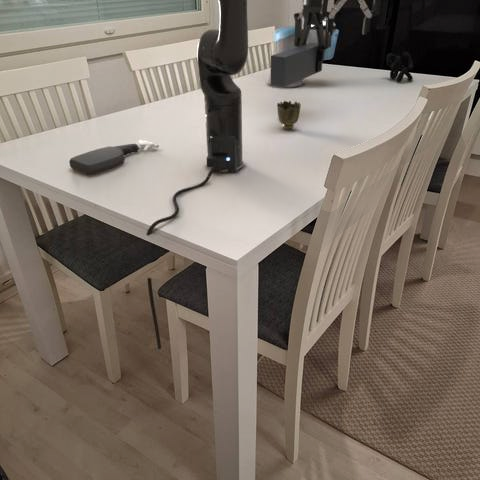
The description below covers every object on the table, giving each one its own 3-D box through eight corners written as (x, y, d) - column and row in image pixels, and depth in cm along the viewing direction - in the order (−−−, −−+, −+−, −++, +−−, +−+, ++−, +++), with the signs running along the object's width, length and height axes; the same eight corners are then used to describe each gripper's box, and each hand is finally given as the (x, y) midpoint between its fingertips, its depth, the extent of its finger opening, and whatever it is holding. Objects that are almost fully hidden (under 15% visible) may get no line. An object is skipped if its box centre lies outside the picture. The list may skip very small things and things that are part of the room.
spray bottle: (67, 168, 120) (139, 144, 136) (91, 178, 114) (163, 151, 130) (65, 157, 118) (137, 134, 134) (89, 167, 112) (162, 142, 128)
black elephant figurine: (400, 92, 202) (376, 71, 205) (417, 76, 202) (392, 56, 205) (405, 81, 191) (380, 59, 194) (423, 64, 191) (397, 42, 194)
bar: (284, 87, 135) (285, 57, 130) (270, 85, 137) (270, 55, 133) (321, 70, 152) (323, 43, 148) (308, 69, 155) (310, 42, 150)
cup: (272, 130, 144) (273, 105, 139) (281, 123, 149) (282, 99, 145) (294, 133, 141) (295, 108, 136) (302, 126, 146) (304, 102, 142)
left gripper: (326, -40, 103) (321, 36, 112) (389, -41, 102) (378, 36, 111) (323, -40, 109) (318, 32, 118) (381, -41, 109) (372, 32, 117)
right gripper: (347, -9, 136) (339, 70, 149) (295, -11, 145) (292, 65, 158) (337, -7, 131) (330, 75, 144) (284, -9, 140) (282, 69, 153)
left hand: (347, 34), depth 115 cm, fingers open, 8 cm apart
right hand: (310, 69), depth 151 cm, fingers closed on bar, 5 cm apart
